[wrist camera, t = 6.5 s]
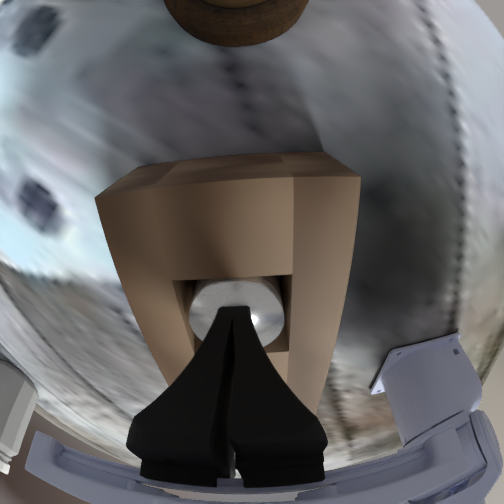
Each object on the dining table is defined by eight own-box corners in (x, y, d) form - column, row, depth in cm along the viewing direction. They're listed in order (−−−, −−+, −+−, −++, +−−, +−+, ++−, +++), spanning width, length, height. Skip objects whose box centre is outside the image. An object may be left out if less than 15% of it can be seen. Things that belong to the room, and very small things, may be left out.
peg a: (274, 230, 15) (285, 281, 11) (275, 292, 17) (283, 349, 13) (196, 235, 15) (179, 287, 11) (207, 296, 17) (198, 352, 13)
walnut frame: (324, 152, 13) (361, 176, 9) (302, 393, 25) (308, 435, 21) (138, 166, 13) (94, 197, 9) (205, 397, 25) (201, 439, 21)
